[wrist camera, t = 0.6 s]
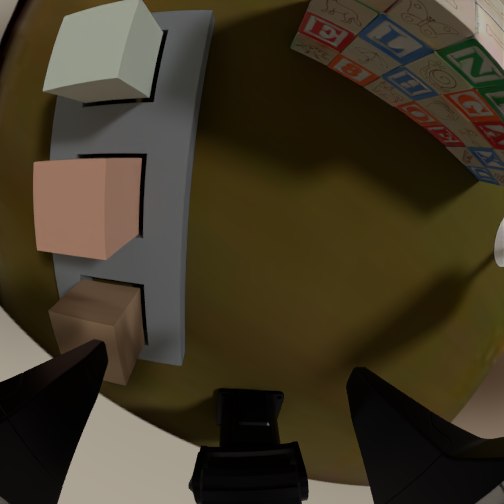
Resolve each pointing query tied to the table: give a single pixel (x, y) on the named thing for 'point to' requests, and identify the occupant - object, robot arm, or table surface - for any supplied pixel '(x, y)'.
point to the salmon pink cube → (86, 205)
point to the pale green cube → (105, 53)
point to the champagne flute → (499, 245)
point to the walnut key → (102, 324)
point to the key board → (147, 178)
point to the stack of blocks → (422, 66)
